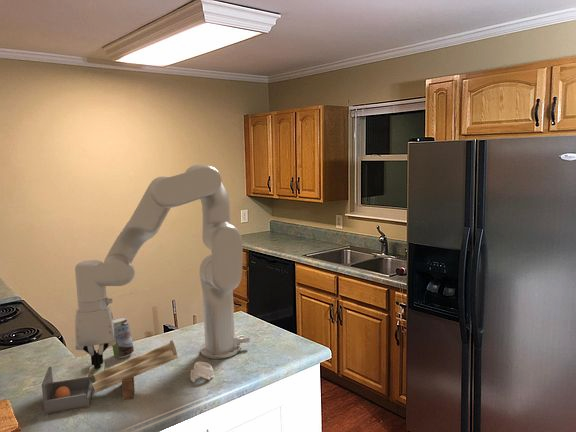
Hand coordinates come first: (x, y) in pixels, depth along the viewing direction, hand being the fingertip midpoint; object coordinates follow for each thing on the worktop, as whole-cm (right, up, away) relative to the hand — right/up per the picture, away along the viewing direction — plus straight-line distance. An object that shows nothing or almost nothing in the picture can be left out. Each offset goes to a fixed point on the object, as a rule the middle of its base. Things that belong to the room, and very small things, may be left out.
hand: (97, 366), depth 132 cm
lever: (+11, 0, -2) cm, 12 cm away
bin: (-3, -5, -11) cm, 13 cm away
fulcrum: (+11, -4, -7) cm, 14 cm away
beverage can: (+2, -2, +15) cm, 15 cm away
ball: (-4, -3, -12) cm, 13 cm away
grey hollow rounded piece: (+30, -3, 0) cm, 30 cm away
